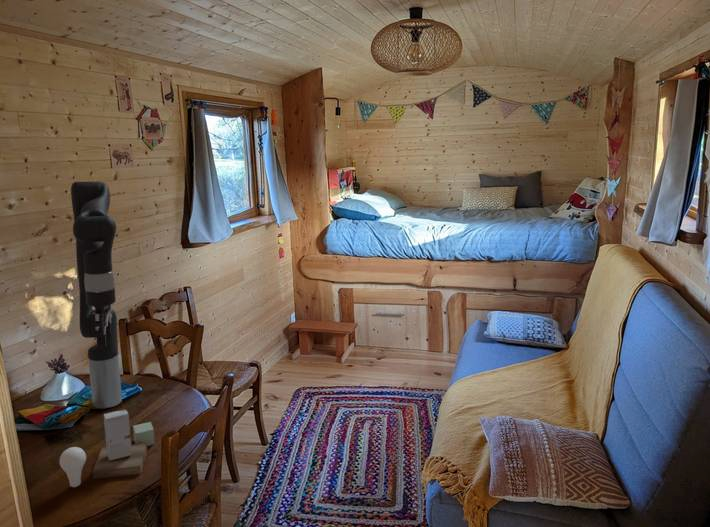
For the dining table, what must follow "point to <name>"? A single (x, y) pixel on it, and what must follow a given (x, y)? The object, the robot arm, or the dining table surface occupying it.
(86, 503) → the dining table surface
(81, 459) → the lightbulb
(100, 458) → the beige flat slab
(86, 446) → the dining table surface
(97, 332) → the robot arm
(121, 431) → the skincare box
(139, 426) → the sage block
